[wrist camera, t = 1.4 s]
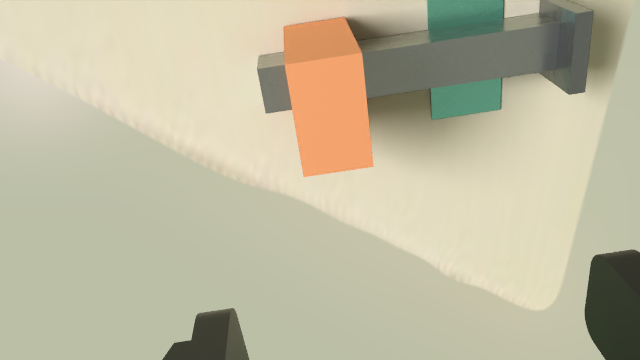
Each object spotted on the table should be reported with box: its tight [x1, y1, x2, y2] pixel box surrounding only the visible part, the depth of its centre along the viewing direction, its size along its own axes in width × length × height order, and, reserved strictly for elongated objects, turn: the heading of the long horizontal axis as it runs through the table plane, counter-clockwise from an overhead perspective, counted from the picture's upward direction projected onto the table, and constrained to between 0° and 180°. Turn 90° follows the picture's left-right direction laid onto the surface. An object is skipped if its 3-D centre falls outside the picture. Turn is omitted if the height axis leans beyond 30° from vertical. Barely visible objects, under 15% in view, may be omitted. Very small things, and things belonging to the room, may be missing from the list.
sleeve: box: [284, 17, 373, 177], centre depth 33 cm, size 4×7×9 cm, turn 8°
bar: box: [257, 0, 593, 120], centre depth 35 cm, size 20×10×5 cm, turn 98°
